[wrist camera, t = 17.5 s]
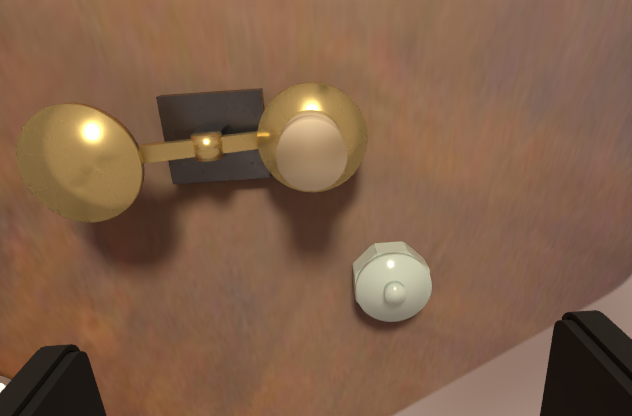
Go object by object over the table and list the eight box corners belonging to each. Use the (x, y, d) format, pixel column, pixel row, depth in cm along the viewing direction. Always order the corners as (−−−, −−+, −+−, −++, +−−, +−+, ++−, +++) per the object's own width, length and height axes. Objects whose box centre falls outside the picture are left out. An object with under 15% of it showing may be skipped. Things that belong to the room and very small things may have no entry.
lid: (423, 302, 41) (433, 325, 38) (354, 307, 41) (358, 330, 38) (424, 239, 39) (436, 258, 35) (351, 245, 39) (355, 264, 35)
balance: (362, 173, 37) (374, 203, 30) (88, 191, 37) (36, 226, 30) (359, 75, 34) (372, 82, 27) (62, 95, 34) (-1, 108, 27)
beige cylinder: (342, 167, 32) (348, 188, 27) (283, 171, 32) (279, 193, 27) (340, 107, 30) (345, 119, 26) (278, 111, 30) (272, 123, 26)
